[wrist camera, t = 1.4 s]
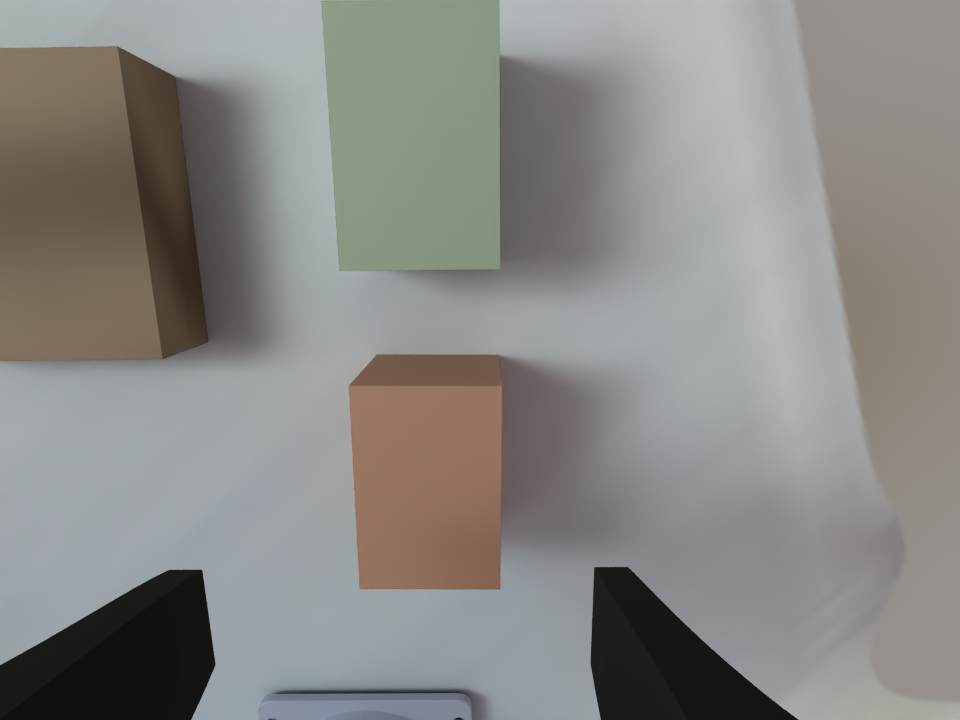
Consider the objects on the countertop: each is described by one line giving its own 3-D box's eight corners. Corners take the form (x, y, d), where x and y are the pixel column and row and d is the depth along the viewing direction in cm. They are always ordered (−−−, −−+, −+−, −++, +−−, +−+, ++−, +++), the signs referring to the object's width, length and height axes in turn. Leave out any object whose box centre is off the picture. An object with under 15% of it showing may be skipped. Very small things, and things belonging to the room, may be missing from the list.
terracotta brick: (496, 518, 19) (500, 589, 16) (384, 518, 19) (360, 589, 16) (497, 353, 18) (502, 386, 14) (377, 353, 18) (348, 385, 14)
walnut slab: (213, 339, 18) (162, 359, 15) (-24, 342, 18) (-120, 362, 15) (182, 80, 17) (117, 46, 14) (-80, 84, 17) (-201, 51, 14)
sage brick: (496, 261, 17) (500, 269, 14) (371, 263, 17) (339, 271, 14) (495, 55, 16) (499, -3, 12) (360, 58, 16) (321, 0, 12)
